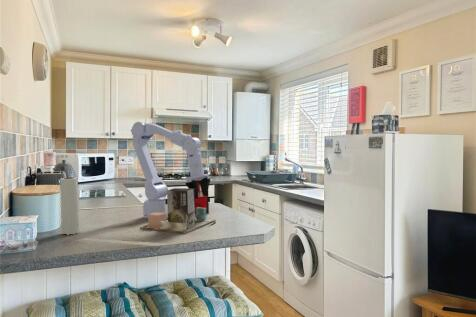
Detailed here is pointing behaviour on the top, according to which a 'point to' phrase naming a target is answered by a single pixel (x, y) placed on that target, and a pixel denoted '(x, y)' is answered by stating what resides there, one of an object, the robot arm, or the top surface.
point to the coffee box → (181, 206)
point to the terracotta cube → (156, 219)
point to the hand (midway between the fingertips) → (200, 196)
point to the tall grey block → (69, 205)
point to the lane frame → (177, 231)
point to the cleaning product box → (201, 197)
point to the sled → (182, 226)
